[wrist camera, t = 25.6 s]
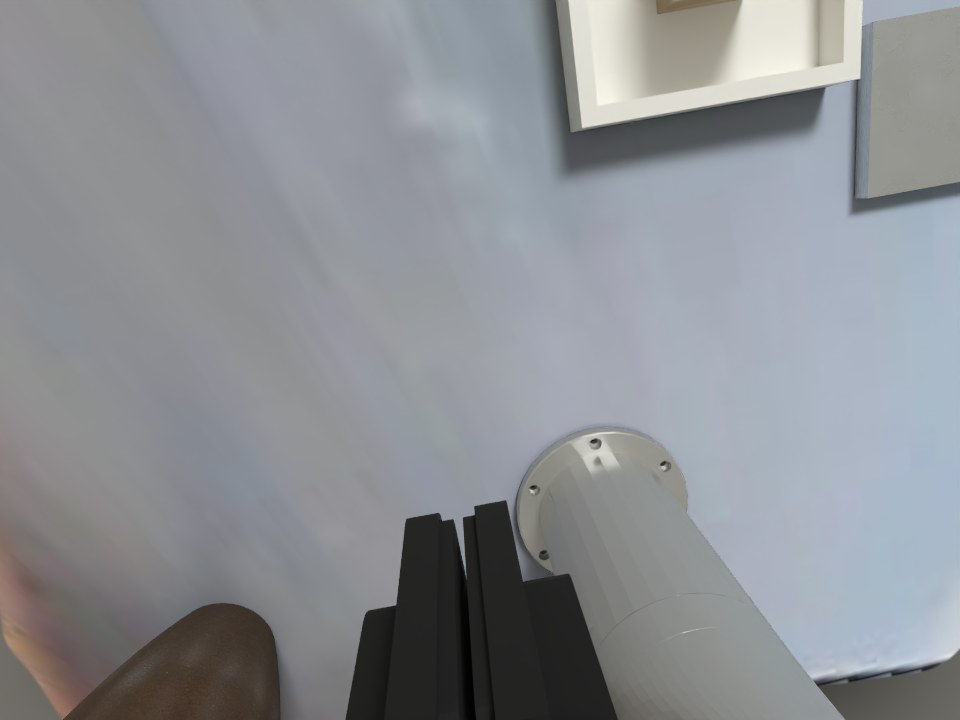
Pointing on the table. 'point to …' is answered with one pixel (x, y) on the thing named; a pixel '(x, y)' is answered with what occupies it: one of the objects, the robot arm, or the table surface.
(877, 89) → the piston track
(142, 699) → the plant pot
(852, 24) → the tray
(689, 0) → the wooden block
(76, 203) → the table surface
